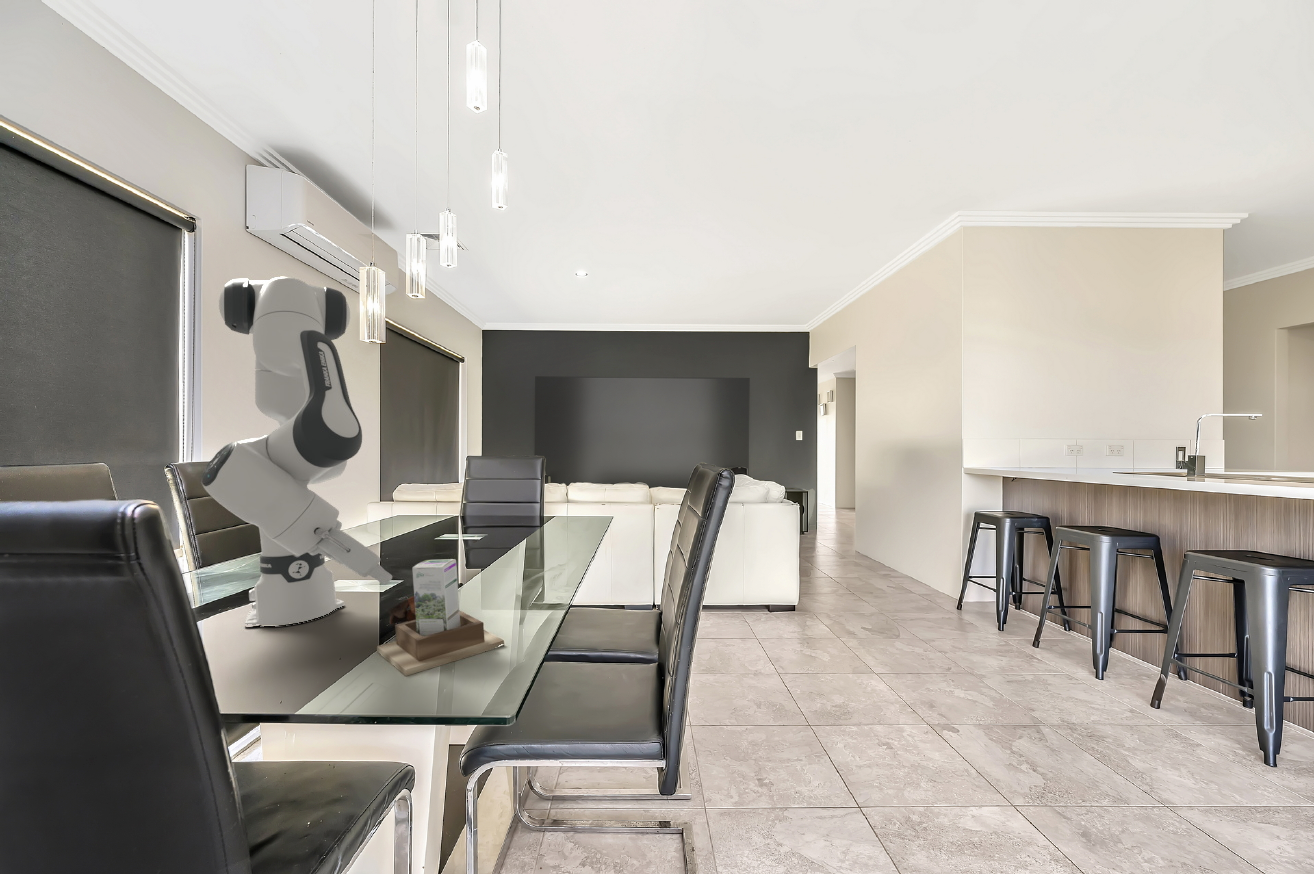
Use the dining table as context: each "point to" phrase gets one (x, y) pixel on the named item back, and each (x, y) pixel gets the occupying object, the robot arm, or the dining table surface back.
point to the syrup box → (436, 596)
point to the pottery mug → (403, 611)
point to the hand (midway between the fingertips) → (379, 575)
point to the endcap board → (437, 645)
